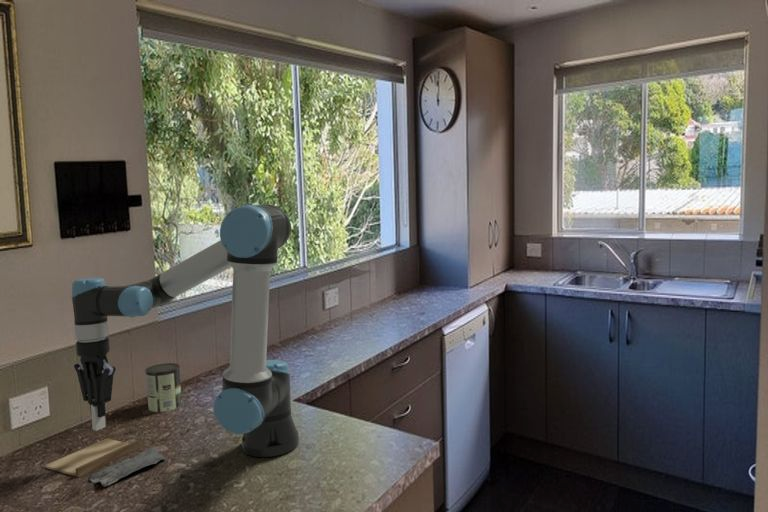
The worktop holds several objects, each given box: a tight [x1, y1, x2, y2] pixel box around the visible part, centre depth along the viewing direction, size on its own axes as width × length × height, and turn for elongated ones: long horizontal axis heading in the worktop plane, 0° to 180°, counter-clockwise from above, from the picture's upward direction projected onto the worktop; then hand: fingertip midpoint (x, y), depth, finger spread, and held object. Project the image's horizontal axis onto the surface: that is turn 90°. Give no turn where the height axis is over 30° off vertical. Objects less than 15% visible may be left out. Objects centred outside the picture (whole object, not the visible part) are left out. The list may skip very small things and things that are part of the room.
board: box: [44, 438, 140, 478], centre depth 150 cm, size 13×18×2 cm
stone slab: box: [89, 446, 166, 488], centre depth 143 cm, size 18×2×10 cm
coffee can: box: [144, 362, 183, 413], centre depth 183 cm, size 10×10×14 cm
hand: (99, 428), depth 148 cm, fingers closed
